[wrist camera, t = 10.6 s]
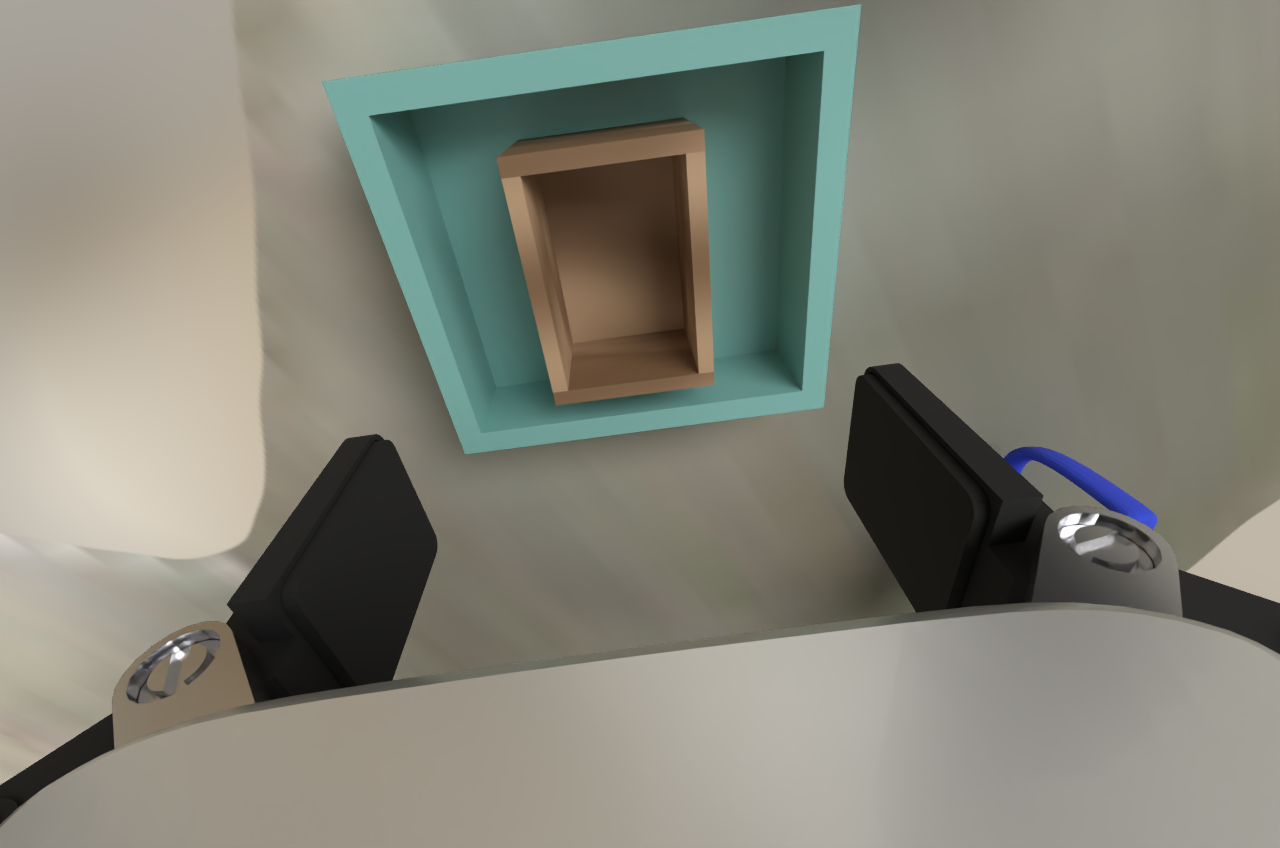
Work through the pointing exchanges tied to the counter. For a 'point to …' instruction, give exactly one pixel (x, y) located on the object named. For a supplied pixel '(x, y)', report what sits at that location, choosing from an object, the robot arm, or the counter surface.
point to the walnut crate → (616, 256)
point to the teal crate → (595, 99)
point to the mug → (1084, 482)
